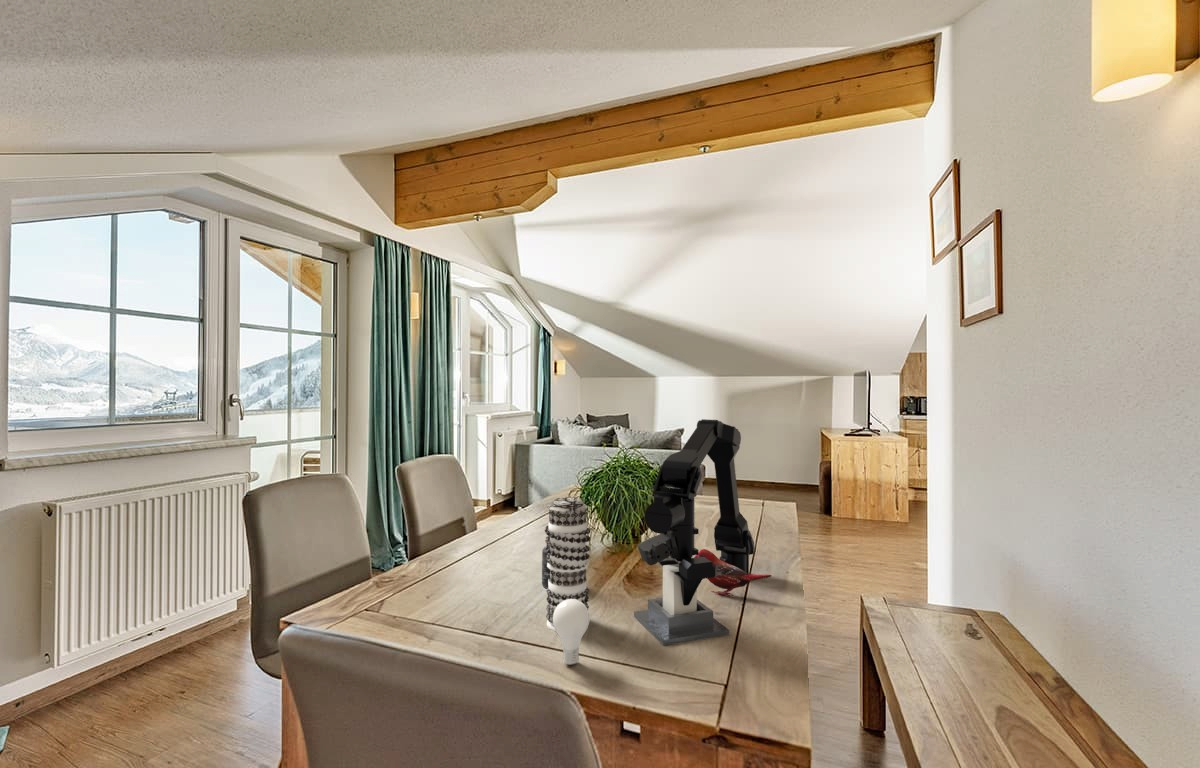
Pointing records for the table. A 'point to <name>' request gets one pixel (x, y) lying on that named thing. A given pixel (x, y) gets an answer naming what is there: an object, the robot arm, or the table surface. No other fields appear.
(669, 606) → the square peg
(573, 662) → the lightbulb
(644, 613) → the square socket
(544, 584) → the pill bottle
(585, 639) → the table surface
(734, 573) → the decorative bird figurine
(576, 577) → the decorative candle
